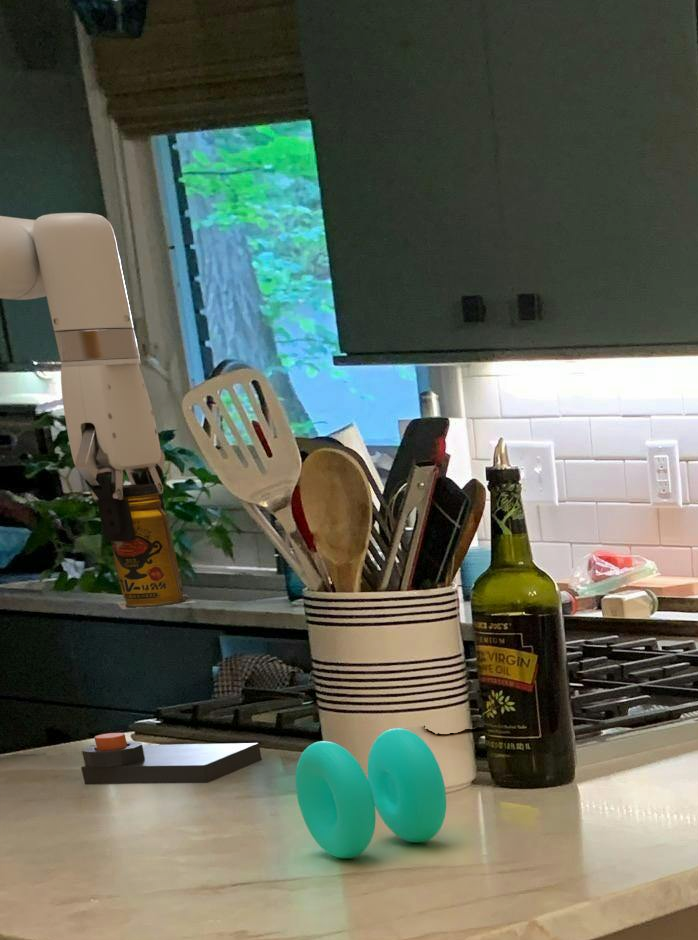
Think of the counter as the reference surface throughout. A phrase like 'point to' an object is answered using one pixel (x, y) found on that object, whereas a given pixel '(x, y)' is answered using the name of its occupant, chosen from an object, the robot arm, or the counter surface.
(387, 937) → the counter surface
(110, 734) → the button
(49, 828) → the counter surface
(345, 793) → the donuts
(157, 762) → the scale
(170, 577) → the condiment
